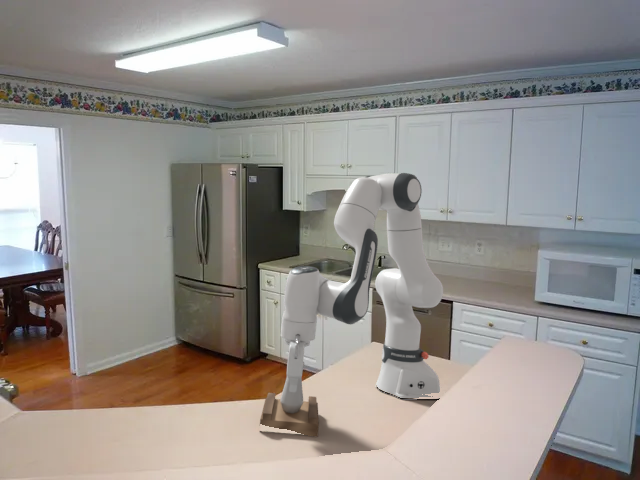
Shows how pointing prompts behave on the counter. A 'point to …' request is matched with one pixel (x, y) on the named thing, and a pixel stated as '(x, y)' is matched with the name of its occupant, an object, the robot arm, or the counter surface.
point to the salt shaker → (292, 397)
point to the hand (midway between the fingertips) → (293, 384)
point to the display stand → (291, 416)
